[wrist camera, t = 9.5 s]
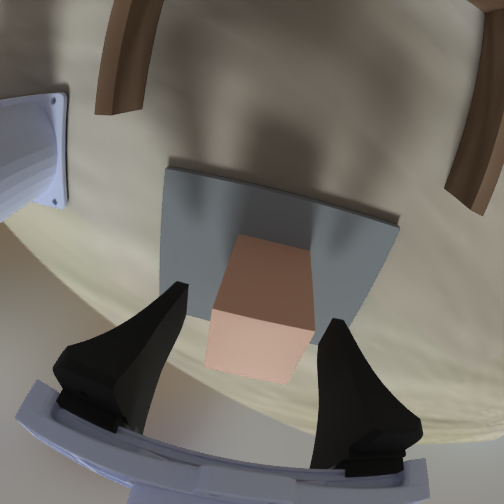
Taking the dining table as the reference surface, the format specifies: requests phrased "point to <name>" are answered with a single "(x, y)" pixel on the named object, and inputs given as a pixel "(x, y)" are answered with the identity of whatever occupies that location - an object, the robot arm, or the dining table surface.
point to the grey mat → (271, 229)
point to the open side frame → (475, 134)
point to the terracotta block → (262, 311)
